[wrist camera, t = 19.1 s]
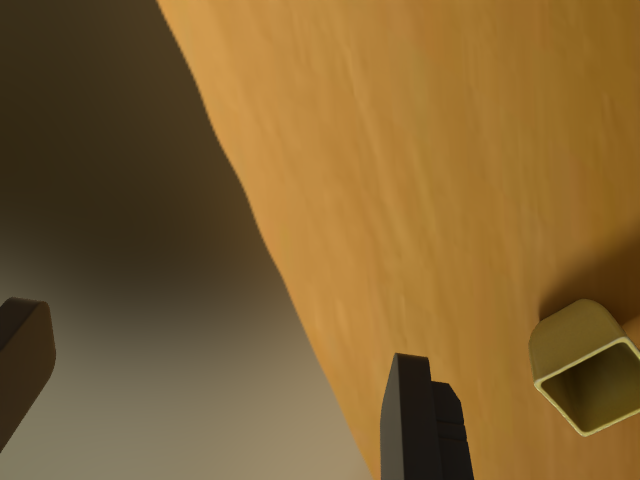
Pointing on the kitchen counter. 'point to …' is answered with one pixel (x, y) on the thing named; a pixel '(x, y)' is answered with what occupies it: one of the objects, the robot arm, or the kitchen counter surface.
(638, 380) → the flower pot
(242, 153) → the kitchen counter surface
